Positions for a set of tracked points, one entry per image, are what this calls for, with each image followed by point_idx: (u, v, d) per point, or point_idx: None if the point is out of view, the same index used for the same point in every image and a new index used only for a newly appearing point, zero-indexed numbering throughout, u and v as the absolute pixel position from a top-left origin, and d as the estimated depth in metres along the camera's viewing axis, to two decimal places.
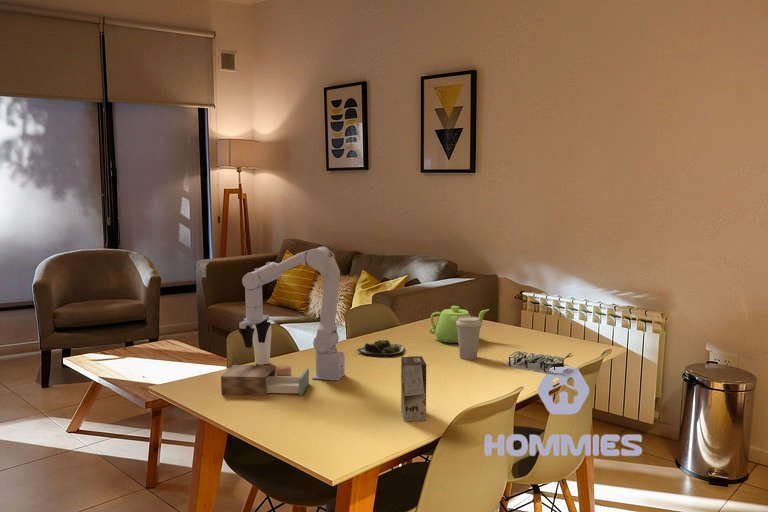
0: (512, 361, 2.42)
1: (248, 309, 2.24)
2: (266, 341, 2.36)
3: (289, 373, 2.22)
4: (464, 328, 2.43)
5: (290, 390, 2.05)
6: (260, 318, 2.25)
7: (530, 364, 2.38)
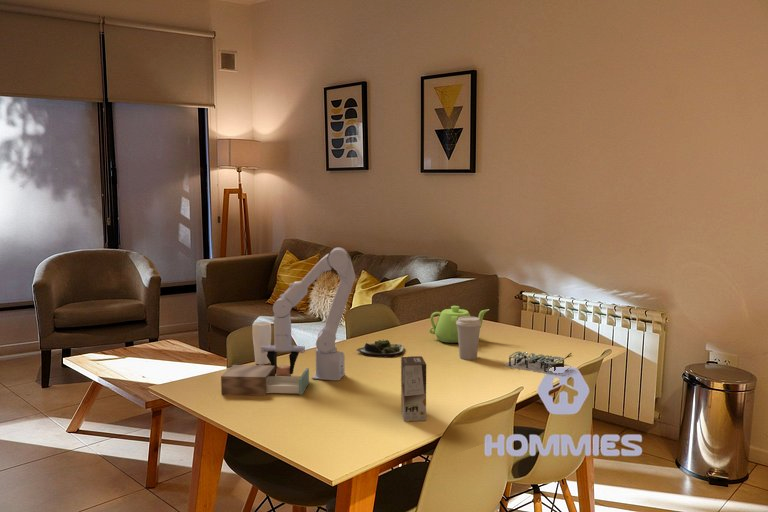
0: (512, 361, 2.42)
1: None
2: (266, 341, 2.36)
3: (289, 373, 2.22)
4: (464, 328, 2.43)
5: (290, 390, 2.05)
6: (279, 347, 2.19)
7: (530, 364, 2.38)
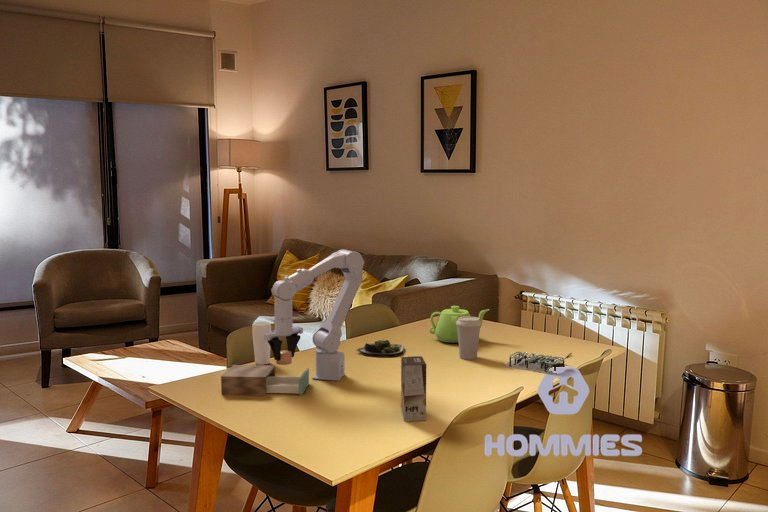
0: (512, 361, 2.42)
1: (276, 320, 2.12)
2: (266, 341, 2.36)
3: None
4: (464, 328, 2.43)
5: (290, 390, 2.05)
6: (288, 330, 2.12)
7: (530, 364, 2.38)
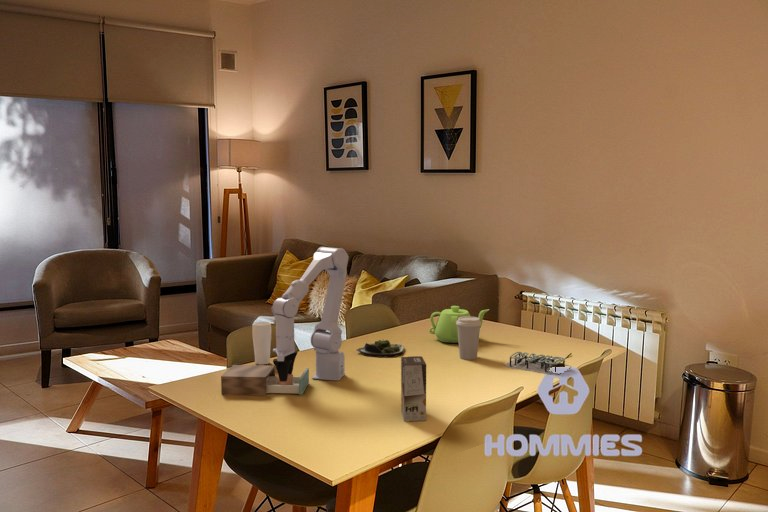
0: (513, 362, 2.41)
1: (282, 339, 2.05)
2: (266, 341, 2.36)
3: None
4: (464, 328, 2.43)
5: (290, 390, 2.05)
6: (293, 348, 2.08)
7: (531, 364, 2.37)
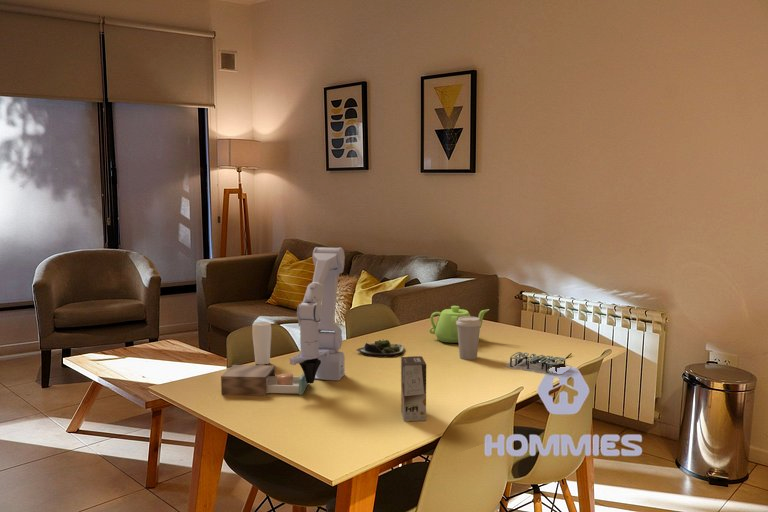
0: (513, 362, 2.41)
1: (302, 343, 2.04)
2: (266, 341, 2.36)
3: None
4: (464, 328, 2.43)
5: (290, 390, 2.05)
6: (314, 354, 2.04)
7: (531, 365, 2.37)
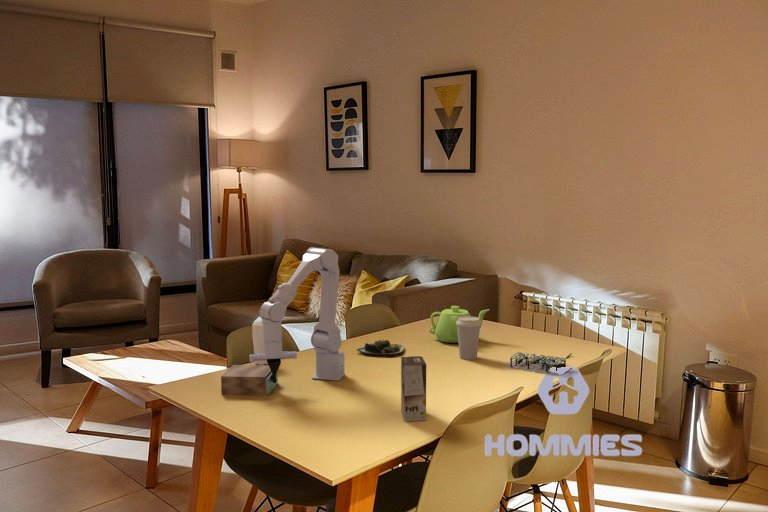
0: (513, 362, 2.41)
1: None
2: None
3: None
4: (464, 328, 2.43)
5: None
6: (272, 354, 2.04)
7: (531, 365, 2.37)
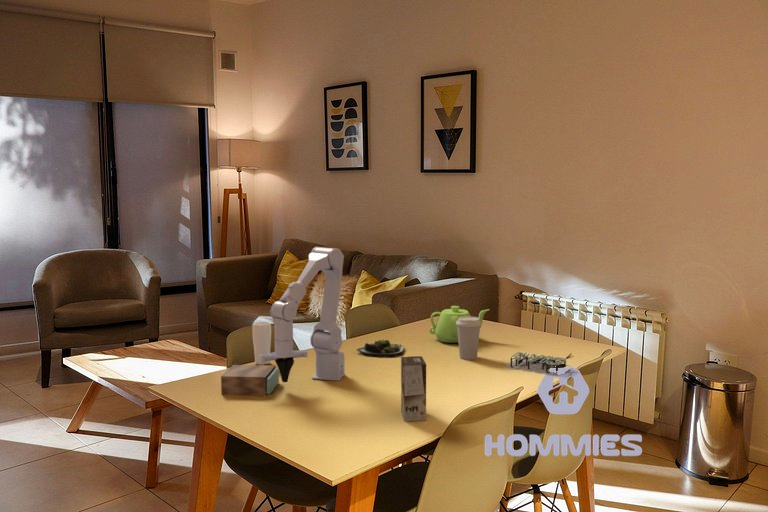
0: (513, 362, 2.40)
1: None
2: (266, 341, 2.36)
3: None
4: (464, 328, 2.43)
5: None
6: (285, 353, 2.04)
7: (532, 365, 2.37)
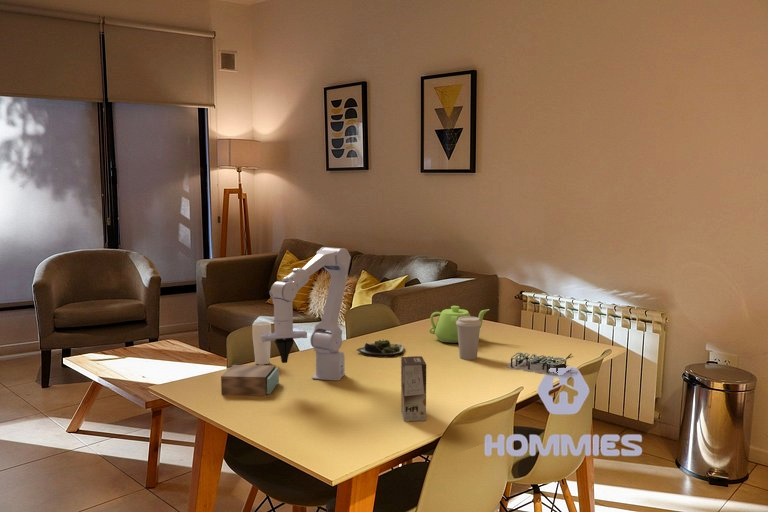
0: (513, 362, 2.40)
1: (274, 322, 2.05)
2: (266, 341, 2.36)
3: None
4: (464, 328, 2.43)
5: None
6: (284, 334, 2.03)
7: (532, 365, 2.36)
